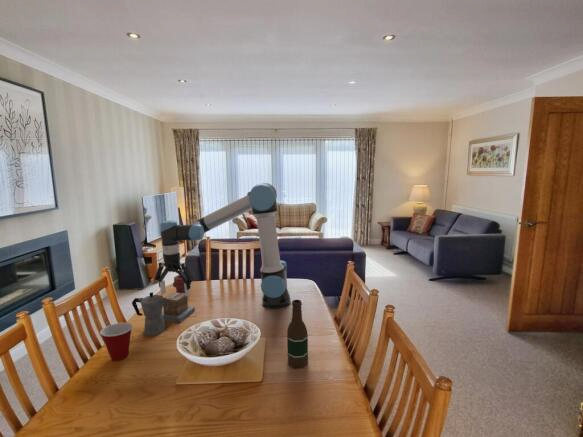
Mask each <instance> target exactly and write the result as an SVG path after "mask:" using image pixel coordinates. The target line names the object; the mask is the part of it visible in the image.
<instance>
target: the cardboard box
mask: <svg viewBox="0 0 583 437" xmlns="http://www.w3.org/2000/svg"><path fill="white" fill-rule="evenodd" d="M164 298H167V301H166V302H165V303H164V305H163V307H162V310H163V311H164V314H165V315H174V316H179V315H180V314H182V313H183V312H184V311H185V310H187V309H188V307H189V303H188V296H187V297H185V293H176V291H174V292H171V293H170V294H167V295H166V296H165V297H164Z"/></svg>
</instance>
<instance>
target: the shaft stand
mask: <svg viewBox="0 0 583 437" xmlns="http://www.w3.org/2000/svg"><path fill="white" fill-rule="evenodd" d="M195 308H196V307H195V306H188V309H187V310H185V311H184V312H183V313H182V314H180V315H179V316H174V315H165V314H164V310H162V317H163V320H164V322H165V321H166V322H173V323H182V322H183V321H185V319H187V318H188V317H190V316H191V315H192V314H193V313H194V312H195V311H196V309H195Z"/></svg>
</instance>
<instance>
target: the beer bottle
mask: <svg viewBox="0 0 583 437" xmlns="http://www.w3.org/2000/svg"><path fill="white" fill-rule="evenodd" d="M291 305H292V308H291V309H292V312H291V321H290V322H289V324H288V327H287V330H286V337H287V338H286V339H287V341H286V342H287V361H288V366H289V367H292V369H303V368H305V366H307V365H308V361H309V348H308V347H309V339H308V338H309V336H308V329H307V326H306V324H305V322H304V321H303V313H302V305H303V302H302V300H300V299H294V300H291Z"/></svg>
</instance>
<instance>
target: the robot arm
mask: <svg viewBox="0 0 583 437" xmlns="http://www.w3.org/2000/svg"><path fill="white" fill-rule="evenodd" d="M277 194H278V193H277V190H276V188H275V187H274V186H273V185H272V184H270V183H267V182H262V183H258V184H256V185H255V186H253V187H252V188H251V190H250V191H248V192H247V193H246V195H245V196H243V197H240V198H239V199H237V200H235V201H233V202H230V203H229V204H227V205H224V206H223V207H221V208H218V209H217V210H215V211H213V212H211V213H208V214H207V215H205V216H204V217H201V218H199V219H197V220H195V221H193V222H191V223H188V224H178V222H177V221H176V220H164V221H162V222H160V225H159V228H160V236H161V238H160V240H161V247H162V248H161V249H162V257H163V258H162V259H163V261H160V262H158V268H157V270H156V273H155V276H154V281H157V282H158V287H159V288H160V289H159V290H160V295H161V296H163V295H164V294H166V293H167V291H166V280H165V278H166V276H167V275H168V273H171V272H172V273H176V274H178V275H179V276H180V277H181V278H182V279H183V280H184V281H185V284H184V287H185V297H187V298H188V296H190V295H191V284H190V282H191V283H192V282H194V281H195V279H194V277H193V276H192V273H191V271H190V270H189V267H188V265H187V262H181V254H180V242H181V241H182V242H183V241H185V242H186V241H201V240H203V238H204V234H205V233H208V232H210V231H212V230H214V229H215V228H218V227H220V226H221V225H223V224H225V223H227V222H229V221H232V220H234V219H236V218H238V217H239V216H241V215H244V214H245V213H248V212H250V211H251V210H252V215H254V217H256V224H257V232H258V239H259V245H260V246H259V247H260V254H261V261H262V266H261V267H260V278H261V282H260V289H261V292H262V294H263V296H262V301H261V302H262V305H263V306H264V307H266V308H270V309H281V308H285V307H287V306H288V305H290V304H291V296H290V293H289V291H288V285H287V284H288V278H287V273H288V272H287V266H288V265H287V262H286V261H285V260H281V257H280V256H281V255H280V248H279V239H278V233H277V231H278V230H277V224H276V216H275V215H276V214H277V212H278V205H277ZM164 267H165V268H164Z"/></svg>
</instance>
